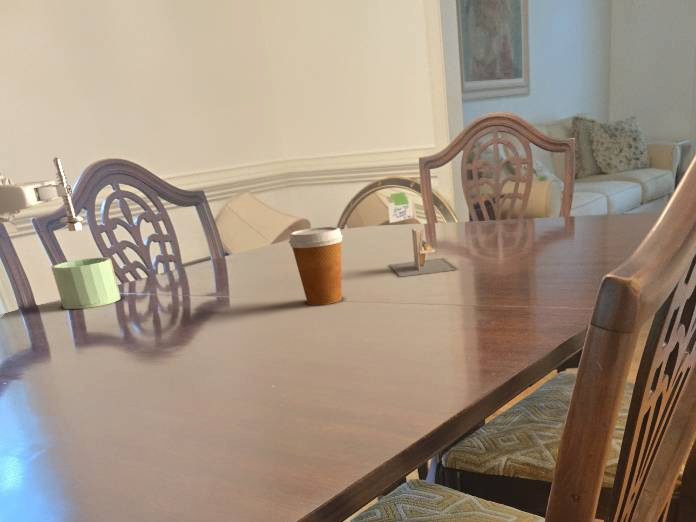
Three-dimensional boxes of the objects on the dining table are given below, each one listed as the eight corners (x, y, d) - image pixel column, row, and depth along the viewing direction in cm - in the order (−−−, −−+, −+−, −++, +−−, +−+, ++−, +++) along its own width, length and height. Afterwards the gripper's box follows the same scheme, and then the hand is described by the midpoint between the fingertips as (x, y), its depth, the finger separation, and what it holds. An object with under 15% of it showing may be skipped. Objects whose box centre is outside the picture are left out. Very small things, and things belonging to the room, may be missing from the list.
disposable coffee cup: (287, 306, 138) (276, 235, 133) (319, 294, 145) (310, 226, 140) (329, 308, 134) (319, 234, 128) (360, 295, 141) (352, 225, 135)
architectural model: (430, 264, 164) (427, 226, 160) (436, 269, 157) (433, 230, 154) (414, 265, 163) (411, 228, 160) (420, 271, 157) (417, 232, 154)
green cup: (57, 311, 155) (45, 270, 152) (70, 300, 166) (58, 262, 162) (115, 304, 157) (104, 263, 153) (124, 294, 167) (114, 255, 163)
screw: (81, 230, 149) (58, 232, 150) (92, 227, 154) (69, 229, 154) (61, 156, 143) (37, 158, 144) (73, 155, 147) (49, 157, 148)
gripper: (17, 210, 158) (86, 203, 159) (-17, 220, 140) (60, 212, 141) (7, 176, 155) (77, 169, 156) (-29, 182, 137) (50, 174, 138)
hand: (69, 190), depth 148 cm, fingers closed on screw, 2 cm apart
